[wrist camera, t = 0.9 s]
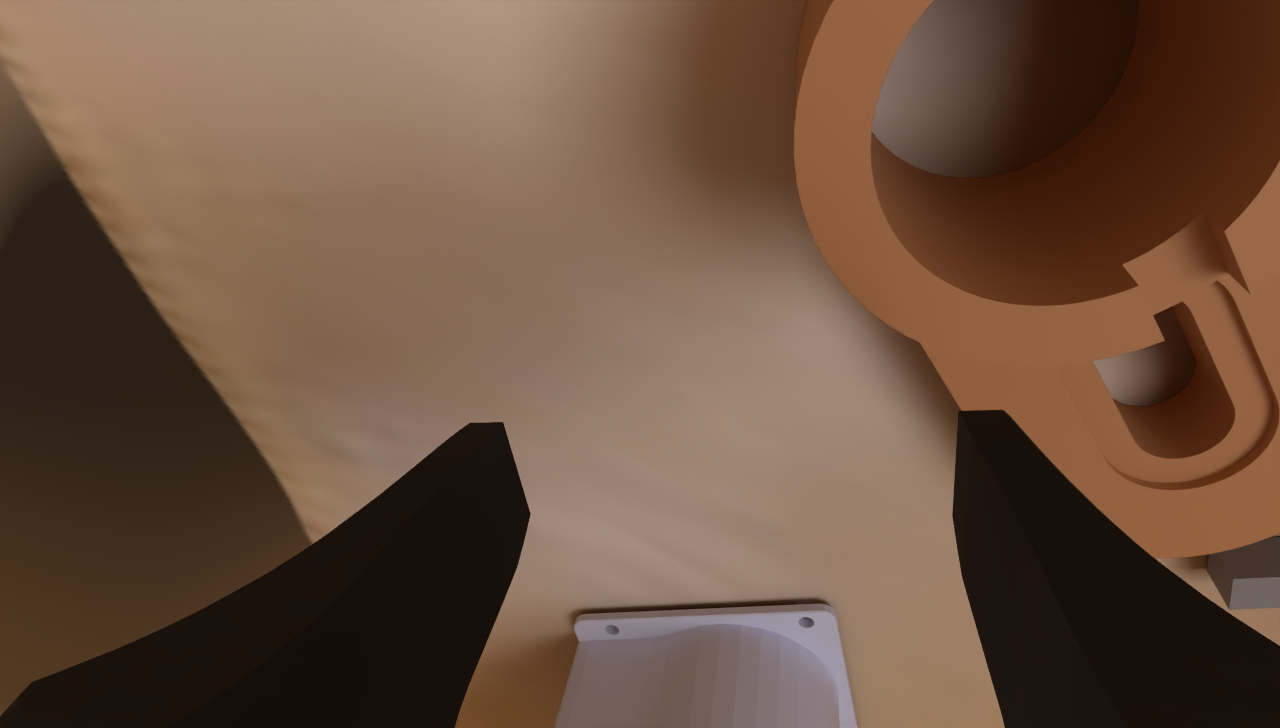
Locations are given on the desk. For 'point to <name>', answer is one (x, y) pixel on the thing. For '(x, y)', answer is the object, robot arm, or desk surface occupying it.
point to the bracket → (1083, 259)
